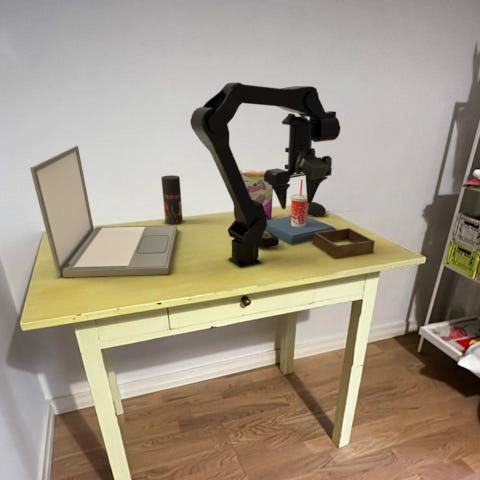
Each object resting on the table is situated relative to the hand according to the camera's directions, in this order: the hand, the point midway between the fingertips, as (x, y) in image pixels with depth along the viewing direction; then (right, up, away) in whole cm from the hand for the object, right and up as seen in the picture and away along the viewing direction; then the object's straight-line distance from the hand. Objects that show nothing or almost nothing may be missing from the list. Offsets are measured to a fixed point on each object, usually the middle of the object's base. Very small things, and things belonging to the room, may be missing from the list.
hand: (296, 206), depth 109 cm
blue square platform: (+3, -2, +22) cm, 22 cm away
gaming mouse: (+11, +9, +42) cm, 44 cm away
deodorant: (-38, +3, +31) cm, 49 cm away
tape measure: (-8, -9, +11) cm, 16 cm away
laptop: (-49, -11, +7) cm, 50 cm away
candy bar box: (-10, +5, +34) cm, 35 cm away
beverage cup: (+3, -1, +20) cm, 20 cm away
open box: (+14, -10, +9) cm, 20 cm away
